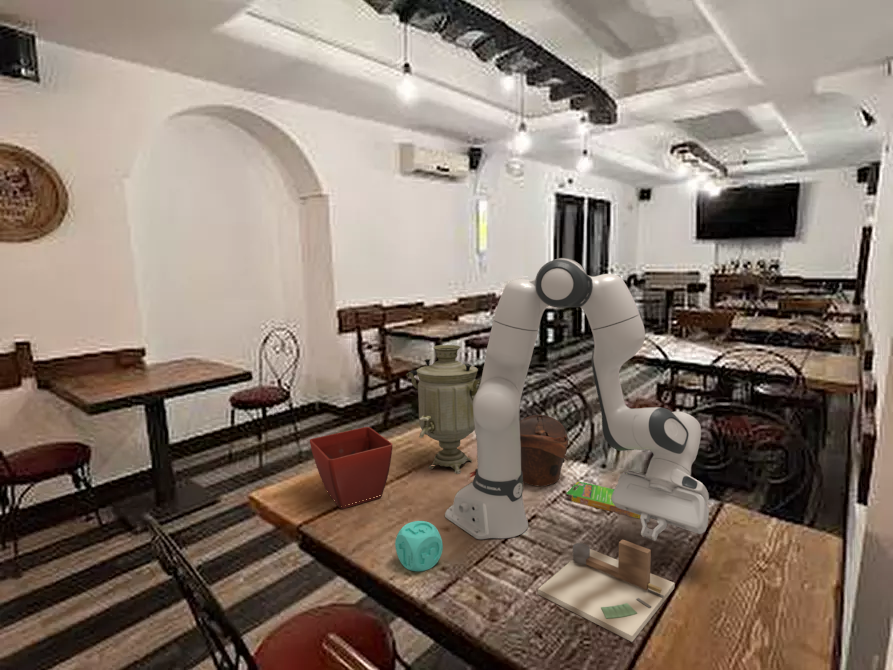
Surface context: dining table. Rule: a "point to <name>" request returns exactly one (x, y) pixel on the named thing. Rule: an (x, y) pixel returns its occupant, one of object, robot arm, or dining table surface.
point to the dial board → (606, 596)
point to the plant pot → (353, 465)
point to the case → (542, 449)
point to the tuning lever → (621, 563)
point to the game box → (596, 498)
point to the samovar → (446, 403)
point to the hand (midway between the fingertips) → (648, 537)
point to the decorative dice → (418, 545)
